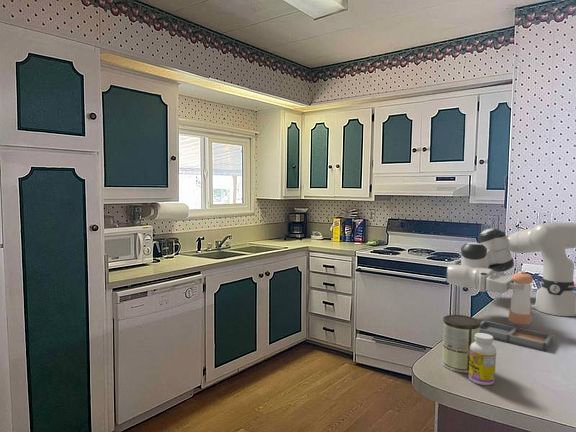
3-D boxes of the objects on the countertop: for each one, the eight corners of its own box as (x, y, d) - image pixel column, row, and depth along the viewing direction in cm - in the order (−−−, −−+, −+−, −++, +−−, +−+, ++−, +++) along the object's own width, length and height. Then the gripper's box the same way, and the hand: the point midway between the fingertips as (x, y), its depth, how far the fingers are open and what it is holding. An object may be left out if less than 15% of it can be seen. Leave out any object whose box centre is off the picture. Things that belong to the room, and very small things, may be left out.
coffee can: (442, 356, 136) (444, 312, 134) (478, 362, 131) (480, 317, 130) (439, 368, 126) (441, 322, 125) (477, 375, 122) (480, 327, 121)
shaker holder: (483, 326, 165) (483, 320, 165) (552, 341, 150) (552, 334, 150) (473, 334, 156) (473, 327, 156) (545, 351, 141) (546, 344, 141)
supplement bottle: (463, 375, 122) (466, 331, 121) (486, 375, 123) (488, 331, 122) (476, 386, 115) (478, 340, 114) (499, 386, 116) (502, 339, 115)
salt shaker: (533, 324, 159) (536, 274, 157) (512, 323, 160) (515, 272, 159) (526, 318, 166) (529, 270, 164) (506, 317, 167) (509, 268, 166)
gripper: (493, 283, 178) (531, 289, 169) (478, 292, 163) (518, 299, 154) (494, 268, 178) (532, 273, 169) (479, 275, 162) (519, 282, 153)
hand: (525, 285), depth 161 cm, fingers closed on salt shaker, 5 cm apart
